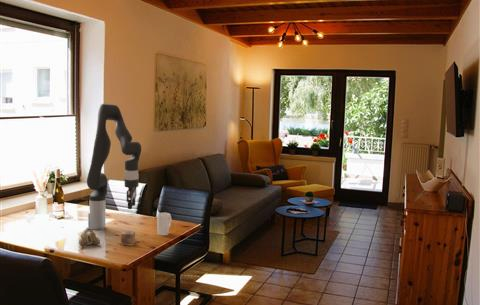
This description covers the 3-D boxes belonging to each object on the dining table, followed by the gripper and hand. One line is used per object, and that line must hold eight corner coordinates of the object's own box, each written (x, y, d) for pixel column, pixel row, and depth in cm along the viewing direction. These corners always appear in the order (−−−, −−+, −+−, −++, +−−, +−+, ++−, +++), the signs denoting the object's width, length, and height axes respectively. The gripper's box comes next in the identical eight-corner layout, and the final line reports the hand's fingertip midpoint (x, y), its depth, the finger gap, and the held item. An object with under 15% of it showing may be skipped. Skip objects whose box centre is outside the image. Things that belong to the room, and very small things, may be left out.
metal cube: (121, 244, 243) (121, 234, 242) (123, 241, 249) (123, 230, 248) (132, 245, 243) (132, 234, 242) (134, 241, 249) (134, 231, 248)
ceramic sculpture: (97, 223, 250) (101, 232, 236) (97, 238, 251) (101, 248, 238) (76, 225, 245) (79, 234, 232) (77, 240, 247) (79, 250, 233)
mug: (162, 236, 260) (163, 216, 258) (154, 234, 264) (154, 214, 262) (175, 232, 268) (175, 213, 267) (167, 230, 272) (167, 211, 270)
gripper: (127, 176, 256) (127, 204, 257) (121, 180, 241) (121, 210, 243) (140, 176, 256) (140, 204, 257) (135, 180, 242) (135, 210, 243)
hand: (131, 207), depth 250 cm, fingers open, 8 cm apart
